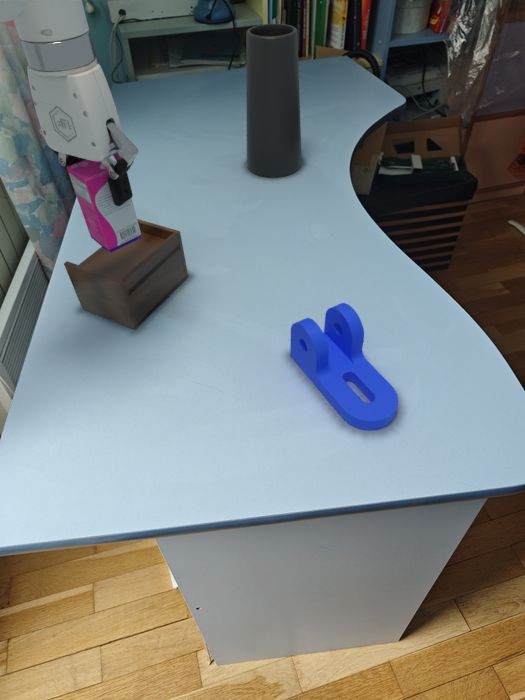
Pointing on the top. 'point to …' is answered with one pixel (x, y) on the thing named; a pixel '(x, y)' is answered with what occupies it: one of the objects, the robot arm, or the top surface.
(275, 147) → the vase
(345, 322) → the bracket
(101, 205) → the supplement box
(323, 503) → the top surface
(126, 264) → the wooden crate
